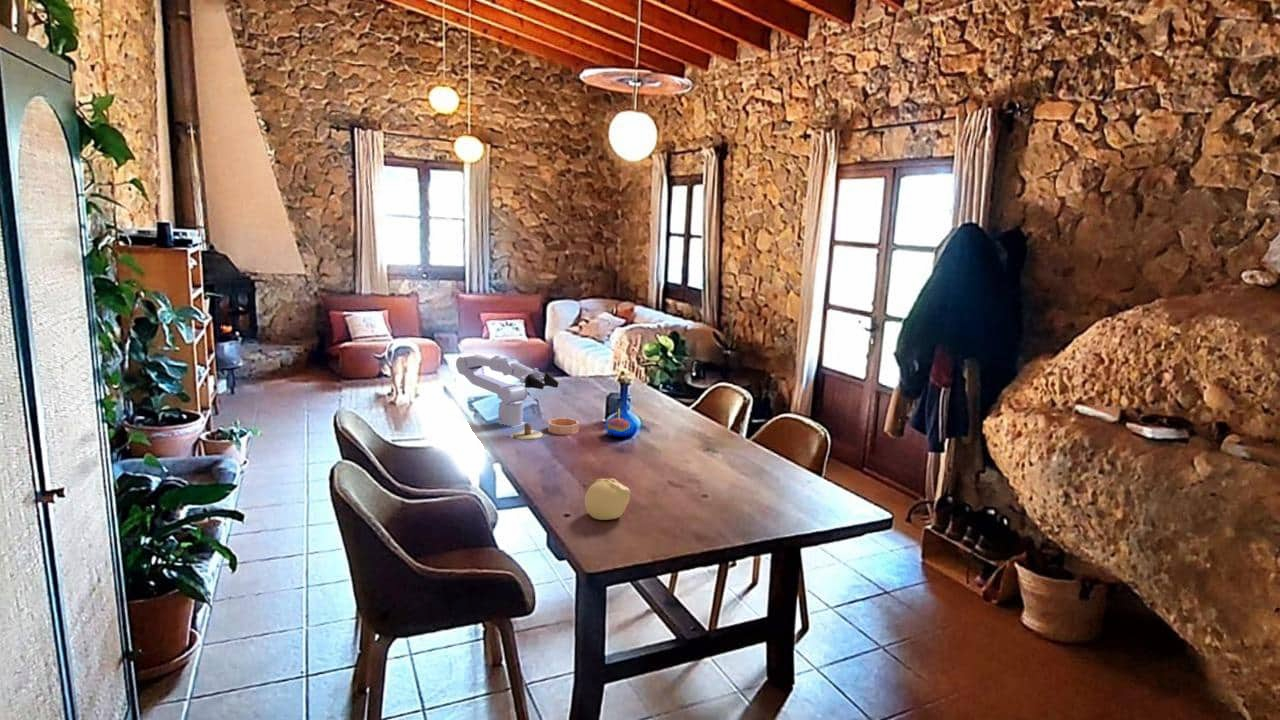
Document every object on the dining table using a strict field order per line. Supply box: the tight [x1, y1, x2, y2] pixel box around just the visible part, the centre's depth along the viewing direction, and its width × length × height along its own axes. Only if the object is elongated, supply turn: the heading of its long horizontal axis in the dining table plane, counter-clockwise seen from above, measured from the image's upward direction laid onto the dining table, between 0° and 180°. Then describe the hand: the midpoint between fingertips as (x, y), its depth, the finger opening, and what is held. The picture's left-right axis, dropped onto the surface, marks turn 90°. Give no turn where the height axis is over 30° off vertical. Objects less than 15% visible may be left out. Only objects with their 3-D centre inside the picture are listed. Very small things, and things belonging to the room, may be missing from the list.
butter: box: [584, 477, 631, 521], centre depth 205 cm, size 11×12×11 cm
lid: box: [512, 422, 542, 441], centre depth 274 cm, size 11×11×5 cm
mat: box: [505, 432, 551, 444], centre depth 275 cm, size 12×12×1 cm
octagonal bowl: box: [547, 417, 580, 435], centre depth 284 cm, size 12×12×4 cm
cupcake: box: [607, 407, 631, 432], centre depth 280 cm, size 9×8×12 cm
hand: (550, 385), depth 274 cm, fingers open, 7 cm apart
